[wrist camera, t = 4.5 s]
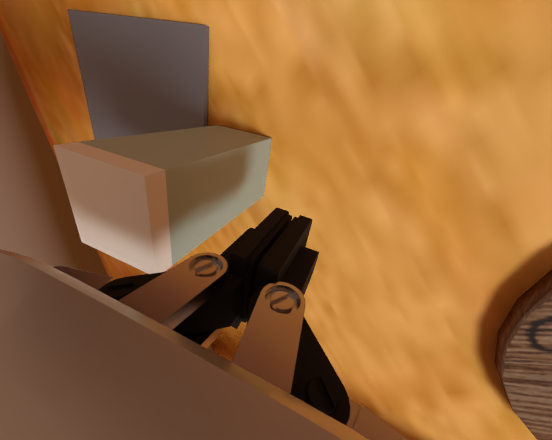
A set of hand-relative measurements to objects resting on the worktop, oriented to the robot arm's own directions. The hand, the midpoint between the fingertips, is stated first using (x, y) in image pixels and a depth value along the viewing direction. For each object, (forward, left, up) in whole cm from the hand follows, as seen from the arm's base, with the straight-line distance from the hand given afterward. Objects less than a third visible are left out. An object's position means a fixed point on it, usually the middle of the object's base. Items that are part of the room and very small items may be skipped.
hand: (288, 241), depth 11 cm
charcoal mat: (+18, 0, -9) cm, 20 cm away
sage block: (+8, 0, -9) cm, 12 cm away
